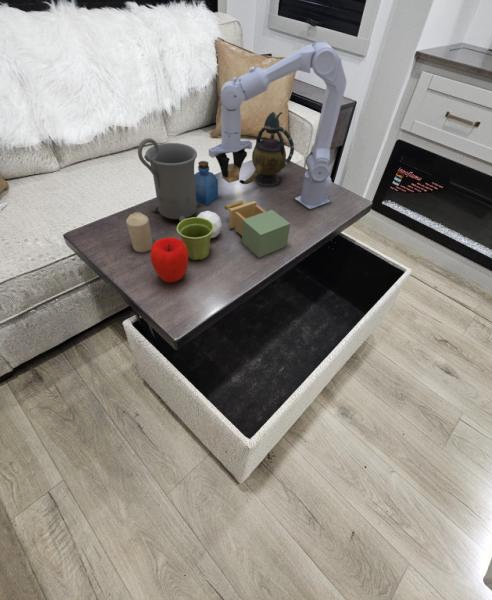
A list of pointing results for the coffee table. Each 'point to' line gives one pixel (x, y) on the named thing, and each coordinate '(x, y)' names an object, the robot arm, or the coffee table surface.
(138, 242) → the candle
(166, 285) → the coffee table surface
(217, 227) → the geometric ball
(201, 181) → the perfume bottle
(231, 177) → the block
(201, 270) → the coffee table surface
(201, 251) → the plant pot
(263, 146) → the teapot
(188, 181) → the mug
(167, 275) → the apple
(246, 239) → the sage green box
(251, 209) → the drawer
